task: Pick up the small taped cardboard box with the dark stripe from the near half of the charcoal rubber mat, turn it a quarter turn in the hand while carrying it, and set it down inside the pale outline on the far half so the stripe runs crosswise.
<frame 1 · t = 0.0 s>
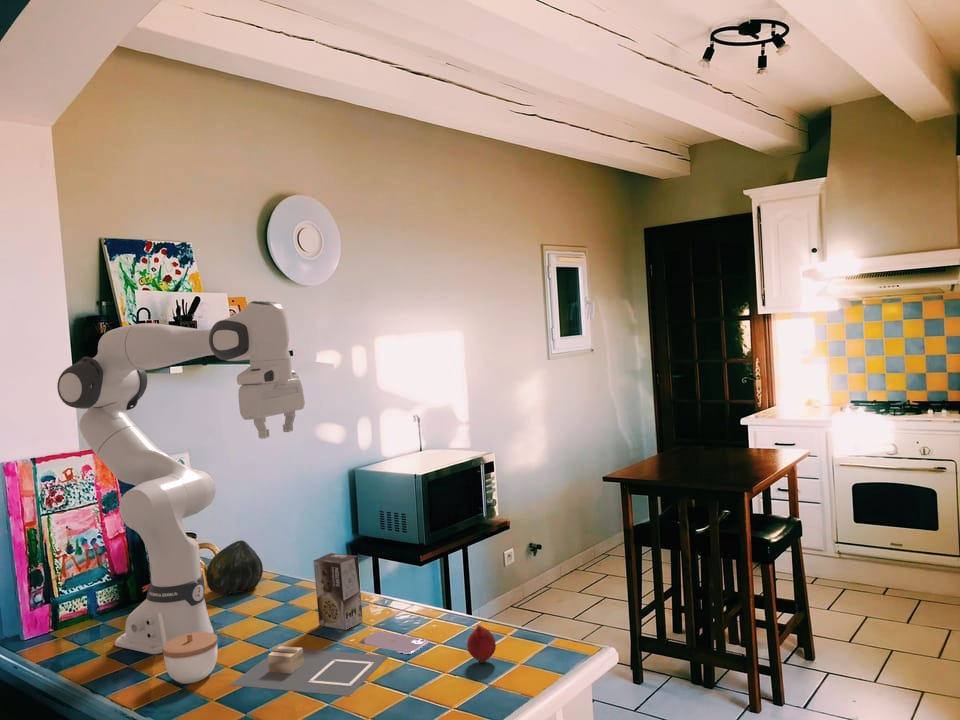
hand: (276, 434, 168), 48 cm above the kitchen counter, tool pointing down, fingers open, 8 cm apart
lidded jar: (193, 679, 156), on the kitchen counter
coffee box: (341, 624, 181), on the kitchen counter
squash: (236, 591, 212), on the kitchen counter
mobile phone: (393, 645, 167), on the kitchen counter
onion: (482, 663, 154), on the kitchen counter
taped cardboard box: (286, 667, 157), resting on rubber mat
rubber mat: (311, 671, 155), on the kitchen counter
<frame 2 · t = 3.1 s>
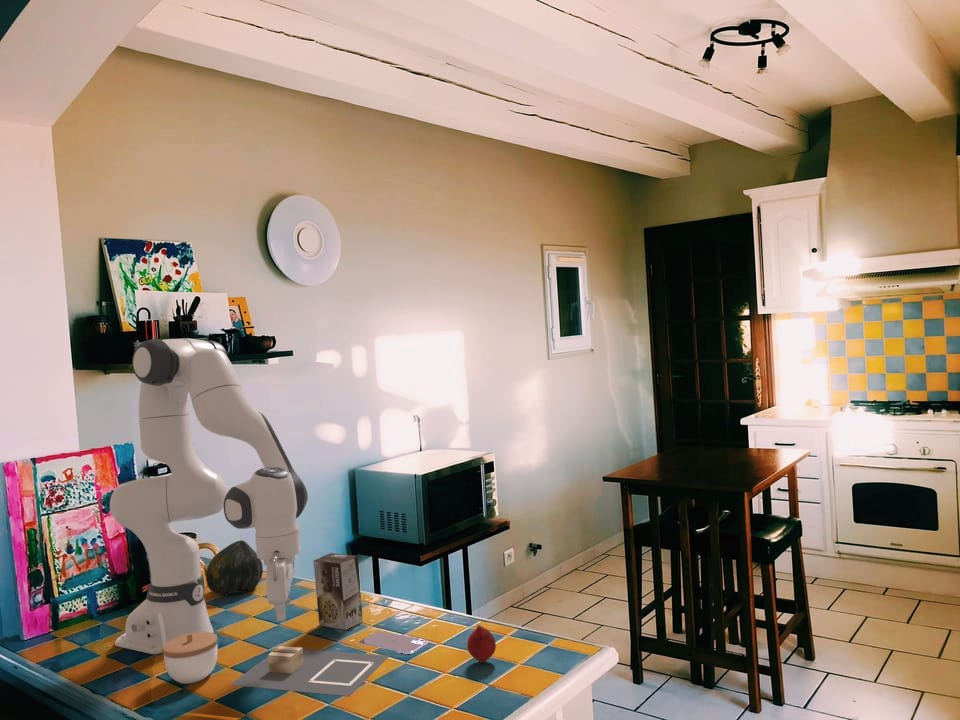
hand: (283, 612, 156), 12 cm above the kitchen counter, tool pointing down, fingers open, 8 cm apart
nothing on the kitchen counter moved.
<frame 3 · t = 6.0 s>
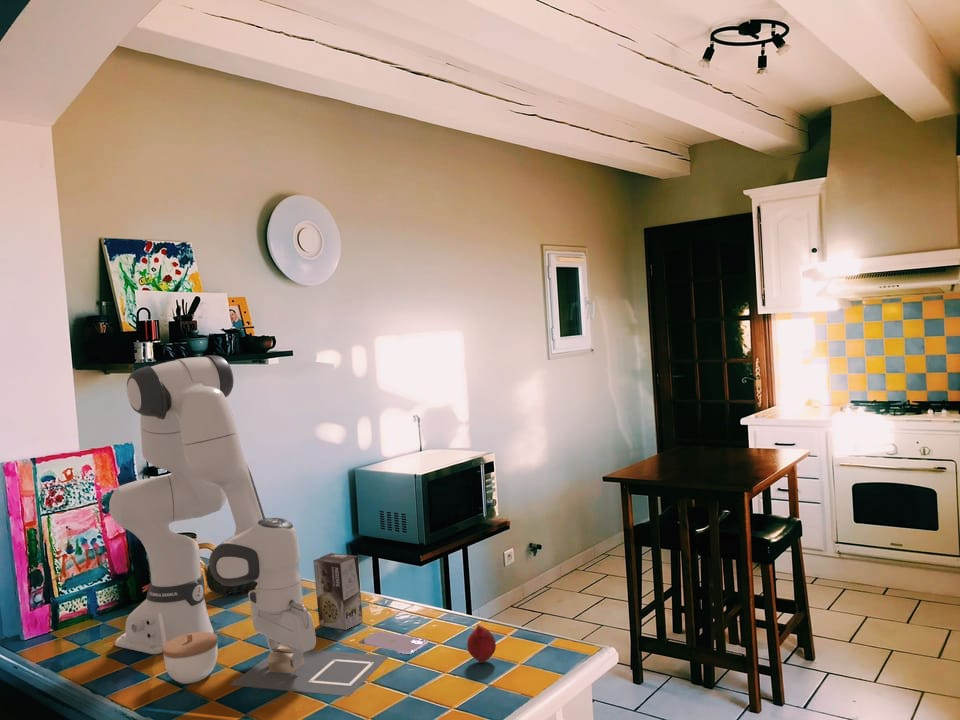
hand: (286, 661, 157), 2 cm above the kitchen counter, tool pointing down, fingers closed on taped cardboard box, 7 cm apart
taped cardboard box: (286, 667, 157), resting on rubber mat, touching gripper
everything else where it was.
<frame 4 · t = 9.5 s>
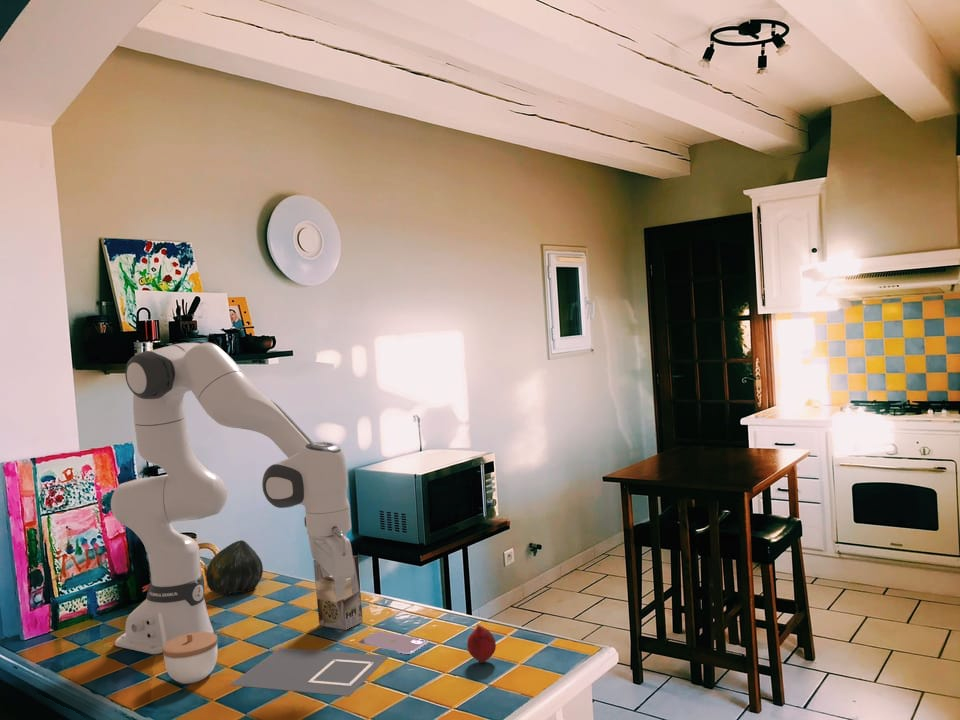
hand: (334, 590, 152), 17 cm above the kitchen counter, tool pointing down, fingers closed on taped cardboard box, 7 cm apart
taped cardboard box: (334, 596, 152), point 16 cm above the kitchen counter, touching gripper
everything else where it was.
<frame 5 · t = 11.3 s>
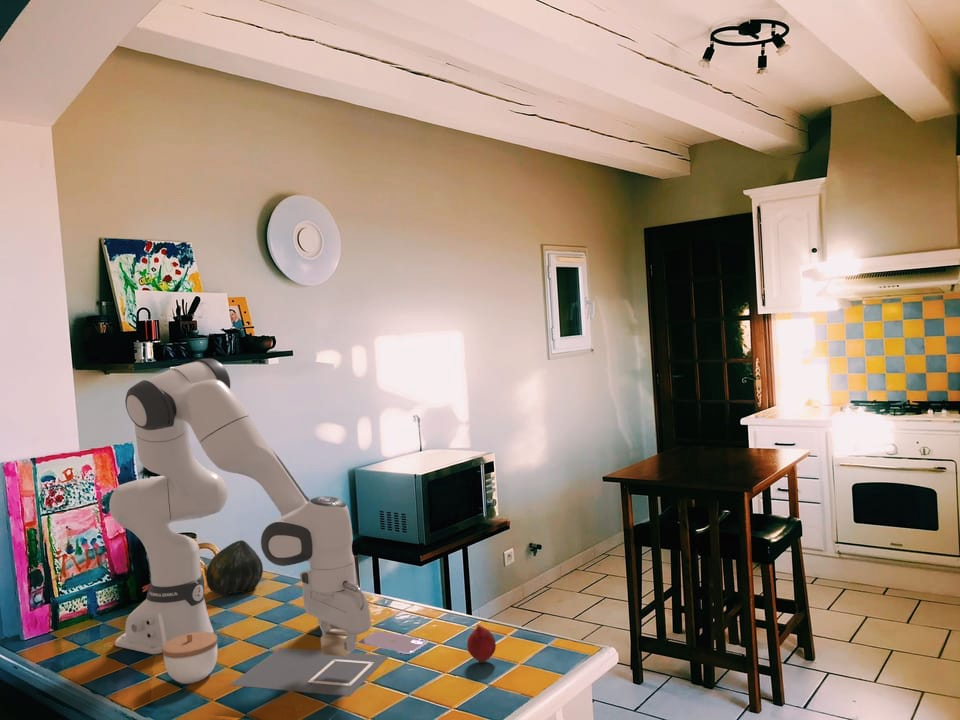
hand: (339, 644, 153), 6 cm above the kitchen counter, tool pointing down, fingers closed on taped cardboard box, 7 cm apart
taped cardboard box: (339, 650, 153), point 5 cm above the kitchen counter, touching gripper
everything else where it was.
when the fingers open (3 cm above the kitchen counter, at t = 12.9 s): taped cardboard box drops 1 cm, resting on rubber mat.
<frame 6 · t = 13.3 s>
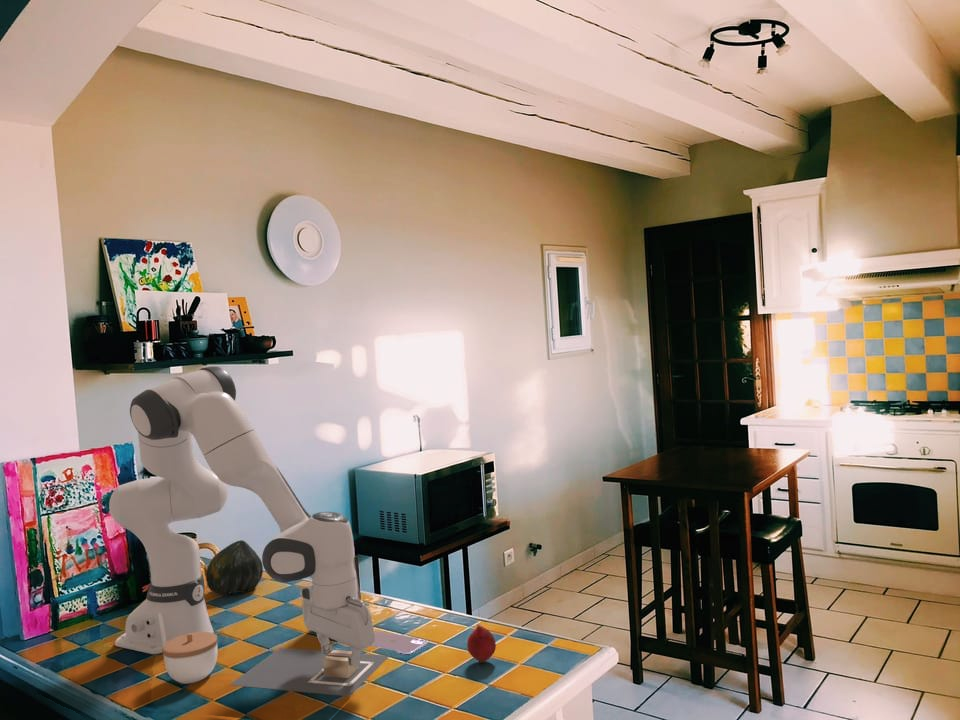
hand: (340, 659, 153), 3 cm above the kitchen counter, tool pointing down, fingers open, 8 cm apart
taped cardboard box: (341, 672, 153), resting on rubber mat
everything else where it was.
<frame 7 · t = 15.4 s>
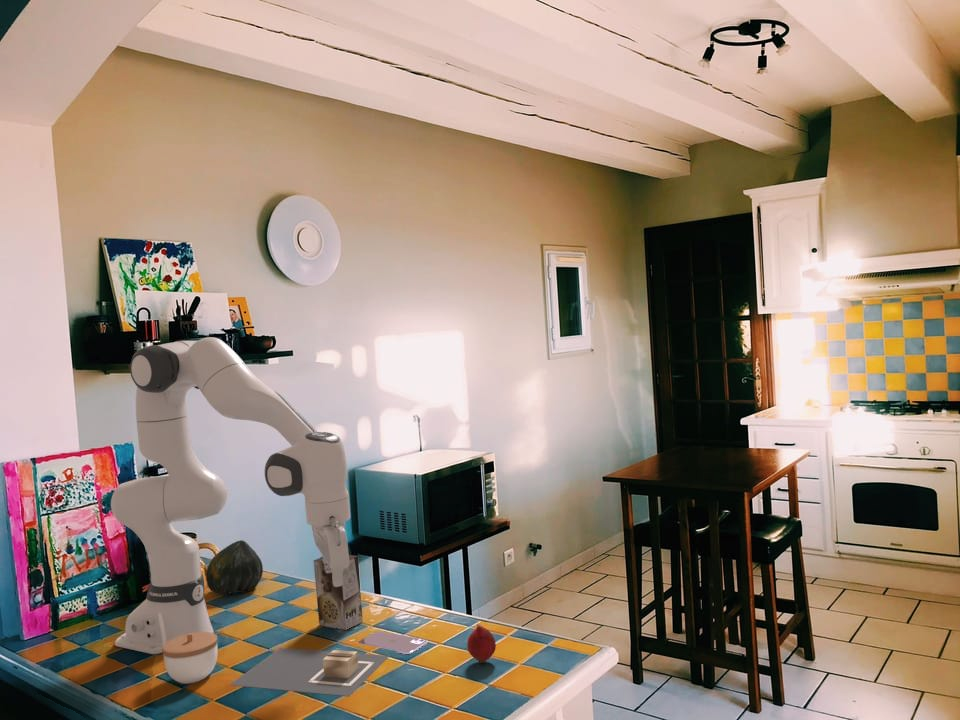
hand: (333, 578, 154), 19 cm above the kitchen counter, tool pointing down, fingers open, 8 cm apart
nothing on the kitchen counter moved.
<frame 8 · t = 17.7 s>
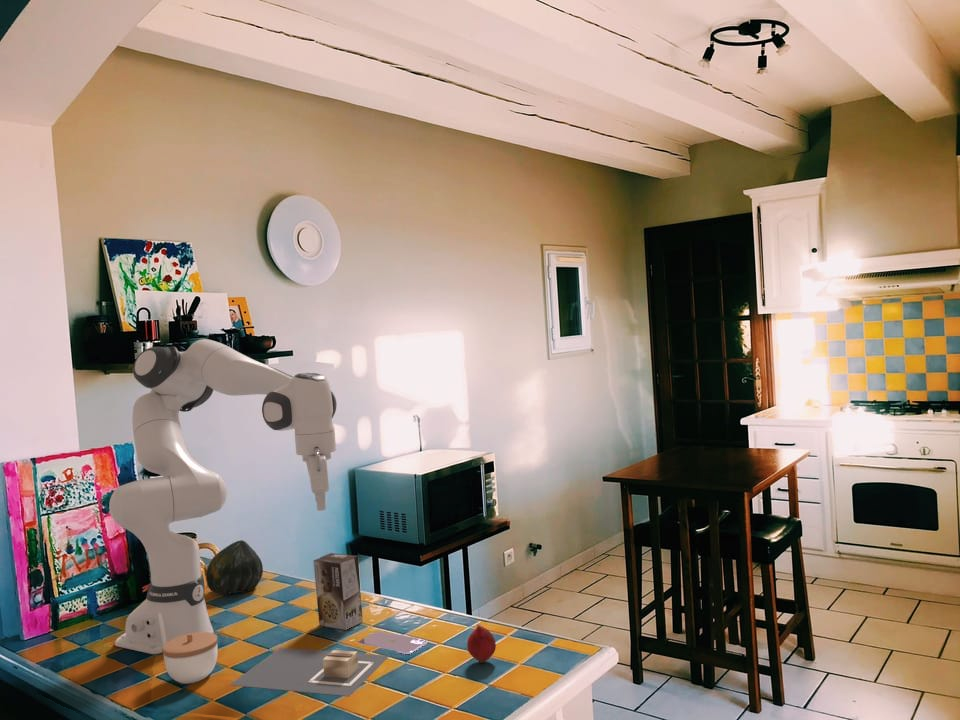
hand: (320, 505, 170), 31 cm above the kitchen counter, tool pointing down, fingers open, 8 cm apart
nothing on the kitchen counter moved.
at the end: taped cardboard box 0.1 cm from the target spot on the rubber mat, point 0.4 cm above the rubber mat's base; taped cardboard box tilted 0°; the gripper is holding nothing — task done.
